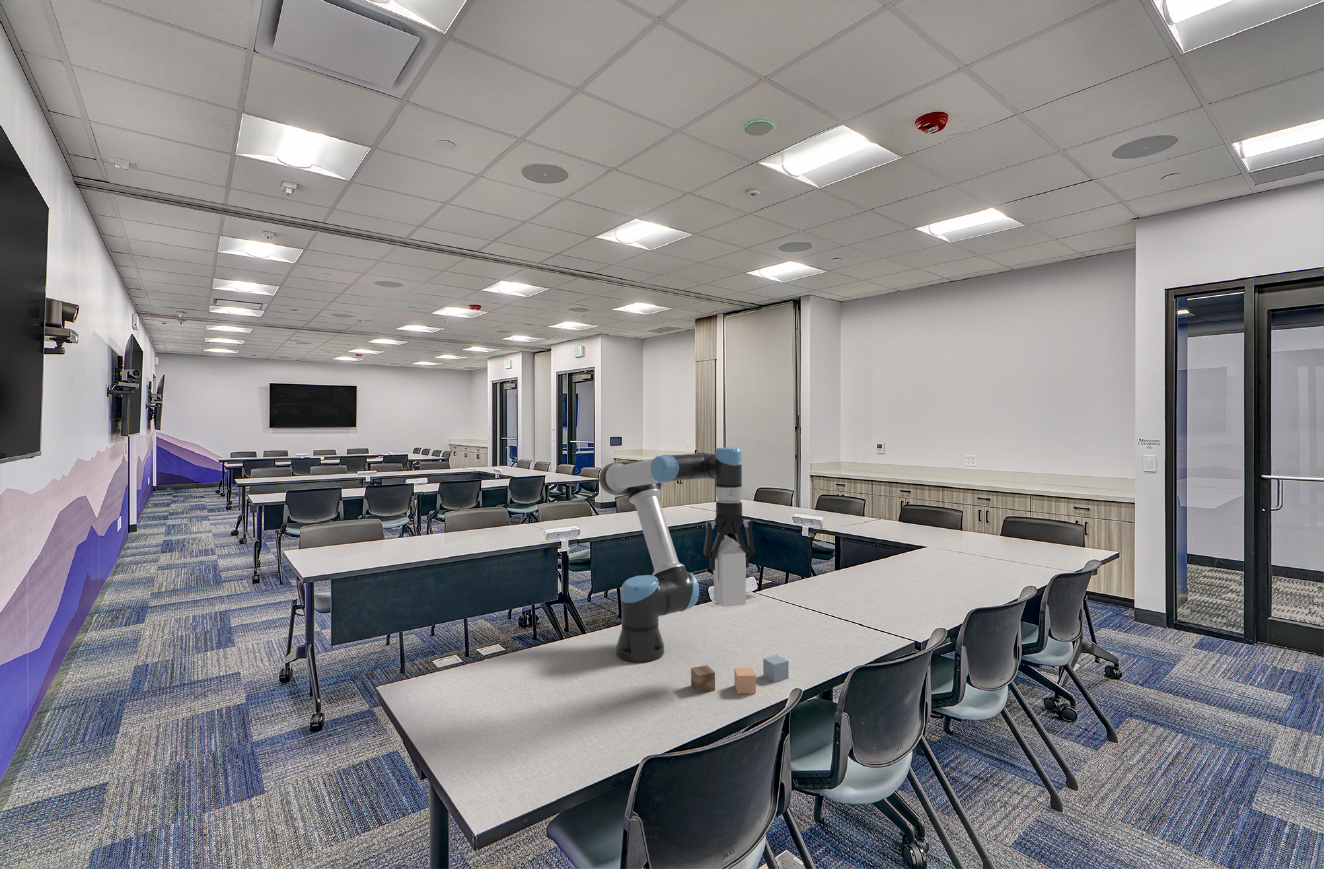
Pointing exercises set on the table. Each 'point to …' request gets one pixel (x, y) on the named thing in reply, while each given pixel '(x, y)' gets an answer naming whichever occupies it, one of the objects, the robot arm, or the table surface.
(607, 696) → the table surface
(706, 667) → the walnut cube
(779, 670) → the slate cube
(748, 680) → the terracotta cube
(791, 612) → the table surface
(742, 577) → the milk carton
